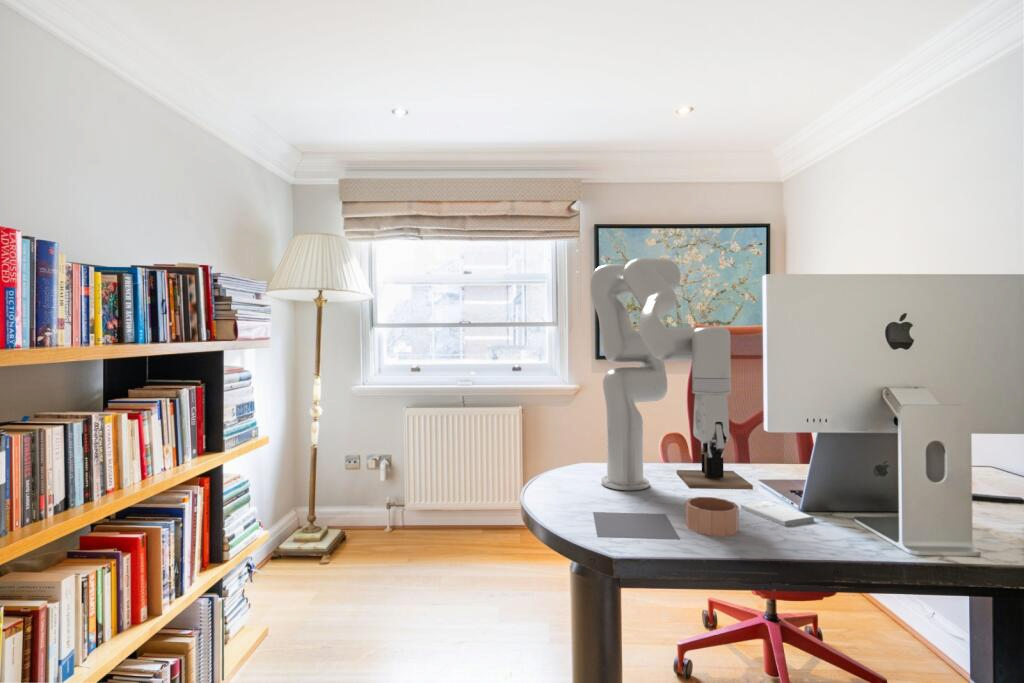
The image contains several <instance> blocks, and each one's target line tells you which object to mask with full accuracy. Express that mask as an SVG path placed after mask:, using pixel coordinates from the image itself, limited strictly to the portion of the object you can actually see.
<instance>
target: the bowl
mask: <svg viewBox="0 0 1024 683" xmlns="http://www.w3.org/2000/svg"><path fill="white" fill-rule="evenodd" d="M739 510H740V508H739V506H738V504H737V503H736V502H733V501H731V500H728V499H725V498H720V497H719V498H718V497H714V496H713V497H712V496H696V497H690V498H688V499H687V500H686V501H685V526H687V528H688V530H691V531H692V532H696V533H697V534H701V535H702V534H703V535H707V536H711V537H715V536H716V537H729V536H733V535H736V534H737V533H738V532H739V530H740V527H739V526H740V519H739V518H740V517H739V516H740V514H739V513H740V512H739Z"/></svg>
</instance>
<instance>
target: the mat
mask: <svg viewBox="0 0 1024 683" xmlns="http://www.w3.org/2000/svg"><path fill="white" fill-rule="evenodd" d="M592 515H593V520H594V524H595V529H596V535H597V536H596V537H597V538H612V539H613V538H616V539H617V538H619V539H621V538H622V539H648V540H649V539H650V540H651V539H653V540H655V539H657V540H681V538H680V536H679V533H677V532H676V530H675V528H674V526H673V524H672V522H671V521H670V519H669V517H668V516H667V514H666V513H648V512H647V513H646V512H645V513H644V512H638V513H637V512H604V511H603V512H601V511H596V512H595V511H593V512H592Z"/></svg>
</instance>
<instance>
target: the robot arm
mask: <svg viewBox="0 0 1024 683" xmlns="http://www.w3.org/2000/svg"><path fill="white" fill-rule="evenodd" d="M681 275H682V274H681V270H680V268H679V266H678V265H677V263H675V261H673V260H671V259H667V258H653V257H652V258H650V257H638V258H634V259H631V260H630V261H628V262H627V264H621V263H620V264H619V263H618V264H617V263H613V264H612V263H610V264H609V263H608V264H604V265H600V266H598V267H597V268H595V270H594V271H593V272H592V274H591V277H590V281H589V282H590V283H589V285H590V286H589V289H590V297H591V300H592V303H593V306H594V309H595V310H596V314H597V318H598V322H599V329H600V335H601V336H600V338H601V341H602V342H601V343H602V349H603V353H604V357H605V359H606V361H607V362H608V363H611V364H612V363H613V364H620V365H621V364H624V365H625V364H639V367H636V366H627V367H623V366H622V367H615V368H612V369H610V370H609V371H607V372H606V373H605V374H604V376H603V380H602V388H603V393H604V394H603V395H604V399H605V405H606V406H605V408H606V449H607V450H606V460H607V462H606V467H607V468H606V469H607V470H606V471H607V472H606V474H607V475H605V476H603V477H602V478H601V484H602V485H603V486H604V487H606V488H608V489H613V490H617V491H618V490H619V491H620V490H621V491H640V490H645V489H647V488H649V486H650V481H649V480H648V479H647V478H645V477H644V424H643V423H644V421H643V417H642V414H641V412H640V411H639V409H638V407H637V406H636V403H637V404H638V403H648V402H649V403H651V402H657V401H658V402H659V401H660V400H663V399H664V398H665V397H666V395H667V392H668V378H667V376H668V375H667V372H666V366H665V362H691V375H692V376H691V379H692V380H691V382H692V383H691V386H692V388H691V390H692V394H693V395H694V394H695V396H694V403H693V427H692V428H693V429H692V430H693V431H692V432H693V437H695V438H696V439H697V440H698V441H700V442H701V448H700V449H701V470H702V472H703V473H705V458H704V453H705V452H708V458H706V468H707V477H708V478H723V471H724V451H725V448H726V447H725V444H727V443H728V442H729V438H730V418H729V417H730V416H729V404H728V395H731V394H732V378H731V377H732V370H731V369H732V367H731V365H732V364H731V363H732V362H731V361H732V359H731V352H732V351H731V332H730V330H729V329H728V328H727V327H724V326H701V327H696V326H690V327H689V326H688V327H687V326H665V325H664V324H663V323H662V321H661V320H660V318H662V317H665V316H666V315H667V314H669V313H670V312H671V311H673V309H674V308H675V306H676V304H677V301H678V298H677V294H676V292H675V290H676V289H677V288H678V287H679V285H680V283H681V278H682V276H681ZM618 296H628V297H629V296H631V297H632V296H633V297H634V299H635V300H636V301H637V303H638V305H639V306H640V307H641V312H640V314H639V318H638V328H633V327H632V324H631V318H630V312H629V310H628V309H627V307H626V305H624V303H623V302H622V301H621V300H620V299H619V298H618Z"/></svg>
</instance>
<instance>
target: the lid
mask: <svg viewBox="0 0 1024 683" xmlns="http://www.w3.org/2000/svg"><path fill="white" fill-rule="evenodd" d="M703 454H704V458H705V473H703V472H702V469H701V470H699V469H697V470H695V469H693V470H692V469H691V470H690V469H686V470H685V469H676V475H677V476H678V477H679V479H681V481H683V483H684V484H685V486H687V487H688V489H691V490H693V489H694V490H695V489H697V490H698V489H700V490H701V489H702V490H703V489H704V490H749V491H750V490H754V485H753V484H751V483H750V482H749V481H748V480H746V479H745V478H744V477H742V476H740V474H738V473H737V472H735V471H734V470H723V478H708V477H707V468H706V458H708V452H705V453H703Z"/></svg>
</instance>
